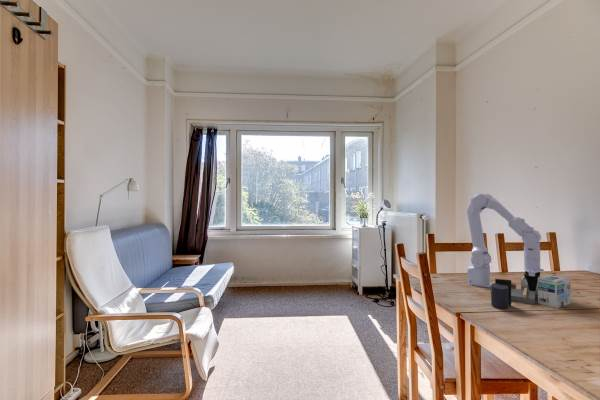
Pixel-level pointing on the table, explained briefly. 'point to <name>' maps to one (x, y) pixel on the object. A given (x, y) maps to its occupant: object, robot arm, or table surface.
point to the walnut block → (513, 285)
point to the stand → (523, 296)
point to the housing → (525, 285)
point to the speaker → (501, 293)
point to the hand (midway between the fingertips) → (532, 289)
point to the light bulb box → (554, 290)
